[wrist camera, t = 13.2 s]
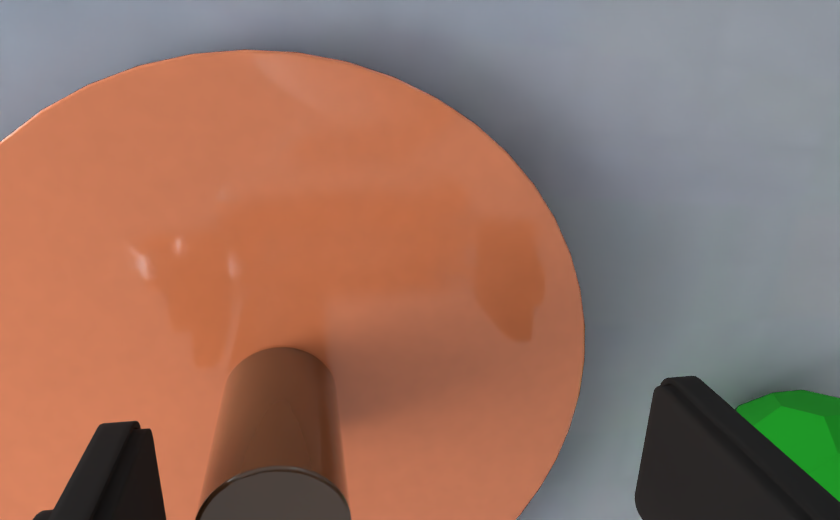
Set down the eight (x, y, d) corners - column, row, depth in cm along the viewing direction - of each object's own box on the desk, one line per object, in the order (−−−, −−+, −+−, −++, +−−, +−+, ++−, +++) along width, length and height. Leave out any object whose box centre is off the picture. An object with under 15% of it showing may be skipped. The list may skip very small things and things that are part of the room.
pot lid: (-120, 3, 11) (-476, -44, 6) (619, 90, 15) (798, 108, 9) (-28, 627, 16) (-187, 907, 11) (518, 586, 19) (600, 784, 14)
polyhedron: (819, 465, 20) (968, 580, 16) (687, 519, 20) (801, 653, 15) (812, 339, 18) (977, 430, 14) (665, 396, 18) (787, 508, 13)
